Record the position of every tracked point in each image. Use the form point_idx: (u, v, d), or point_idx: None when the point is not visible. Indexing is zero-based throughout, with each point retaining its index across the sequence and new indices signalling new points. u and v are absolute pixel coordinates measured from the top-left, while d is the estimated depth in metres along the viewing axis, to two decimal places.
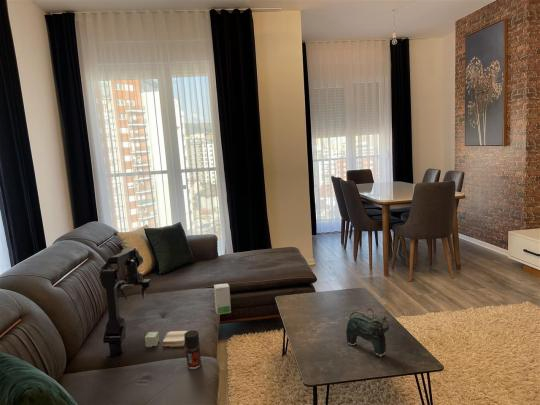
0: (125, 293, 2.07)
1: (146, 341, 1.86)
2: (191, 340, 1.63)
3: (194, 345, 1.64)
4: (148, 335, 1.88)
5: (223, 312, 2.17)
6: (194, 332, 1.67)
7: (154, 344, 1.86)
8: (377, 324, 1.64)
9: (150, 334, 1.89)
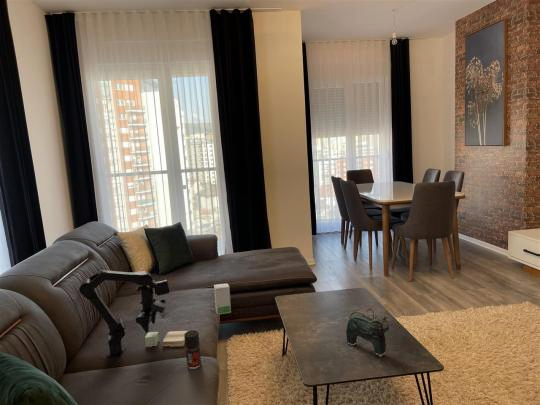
0: (151, 316, 1.92)
1: (146, 341, 1.86)
2: (191, 340, 1.63)
3: (194, 345, 1.64)
4: (148, 335, 1.88)
5: (223, 312, 2.17)
6: (194, 332, 1.67)
7: (154, 344, 1.86)
8: (377, 324, 1.64)
9: (150, 334, 1.89)
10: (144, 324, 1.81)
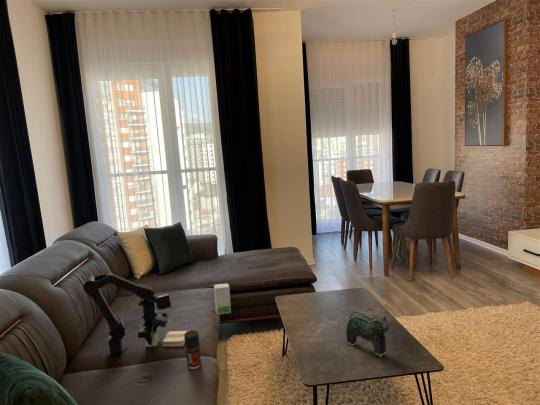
0: (152, 332, 1.91)
1: (146, 341, 1.86)
2: (191, 340, 1.63)
3: (194, 345, 1.64)
4: None
5: (223, 312, 2.17)
6: (194, 332, 1.67)
7: (154, 344, 1.86)
8: (377, 324, 1.64)
9: None
10: None
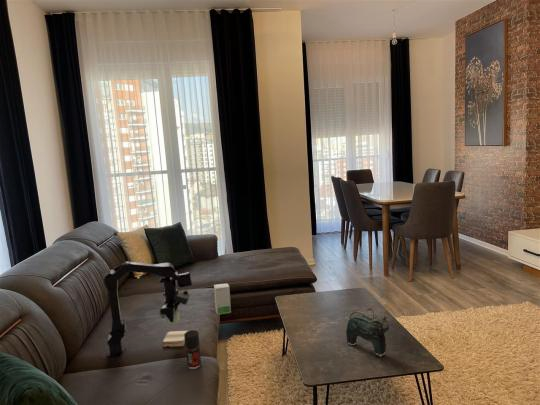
0: None
1: (167, 318, 1.86)
2: (191, 340, 1.63)
3: (194, 345, 1.64)
4: None
5: (223, 312, 2.17)
6: (194, 332, 1.67)
7: (175, 321, 1.86)
8: (377, 324, 1.64)
9: None
10: (169, 314, 1.84)
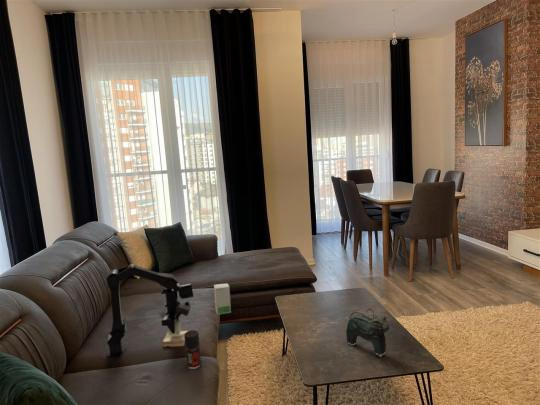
0: None
1: (169, 329, 1.87)
2: (191, 339, 1.63)
3: (194, 345, 1.64)
4: None
5: (223, 312, 2.17)
6: (194, 332, 1.67)
7: (177, 332, 1.87)
8: (377, 324, 1.64)
9: None
10: (170, 325, 1.85)
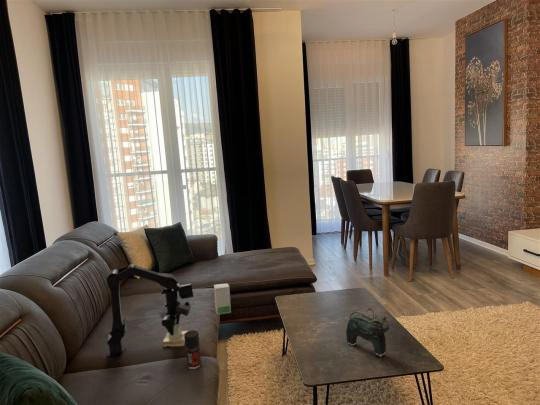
0: (175, 319, 1.94)
1: (169, 333, 1.87)
2: (191, 340, 1.63)
3: (194, 345, 1.64)
4: None
5: (223, 312, 2.17)
6: (194, 332, 1.67)
7: (177, 336, 1.87)
8: (377, 324, 1.64)
9: None
10: (169, 327, 1.83)
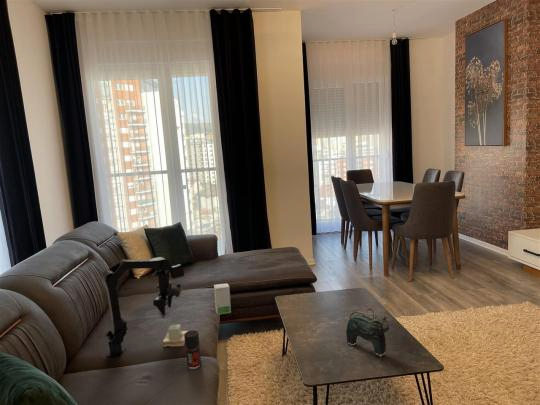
0: (168, 300, 2.01)
1: (169, 333, 1.87)
2: (191, 340, 1.63)
3: (194, 345, 1.64)
4: (171, 327, 1.89)
5: (223, 312, 2.17)
6: (194, 332, 1.67)
7: (177, 336, 1.87)
8: (377, 324, 1.64)
9: (172, 326, 1.90)
10: (161, 307, 1.90)
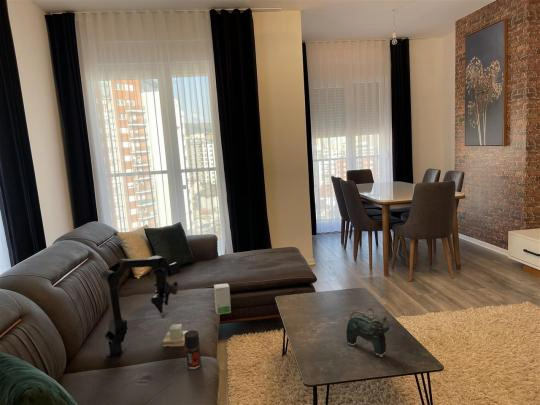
0: (165, 298, 2.04)
1: (170, 333, 1.87)
2: (191, 340, 1.63)
3: (194, 345, 1.64)
4: (172, 327, 1.89)
5: (223, 312, 2.17)
6: (194, 332, 1.67)
7: (178, 336, 1.87)
8: (377, 324, 1.64)
9: (173, 326, 1.90)
10: (158, 305, 1.93)
